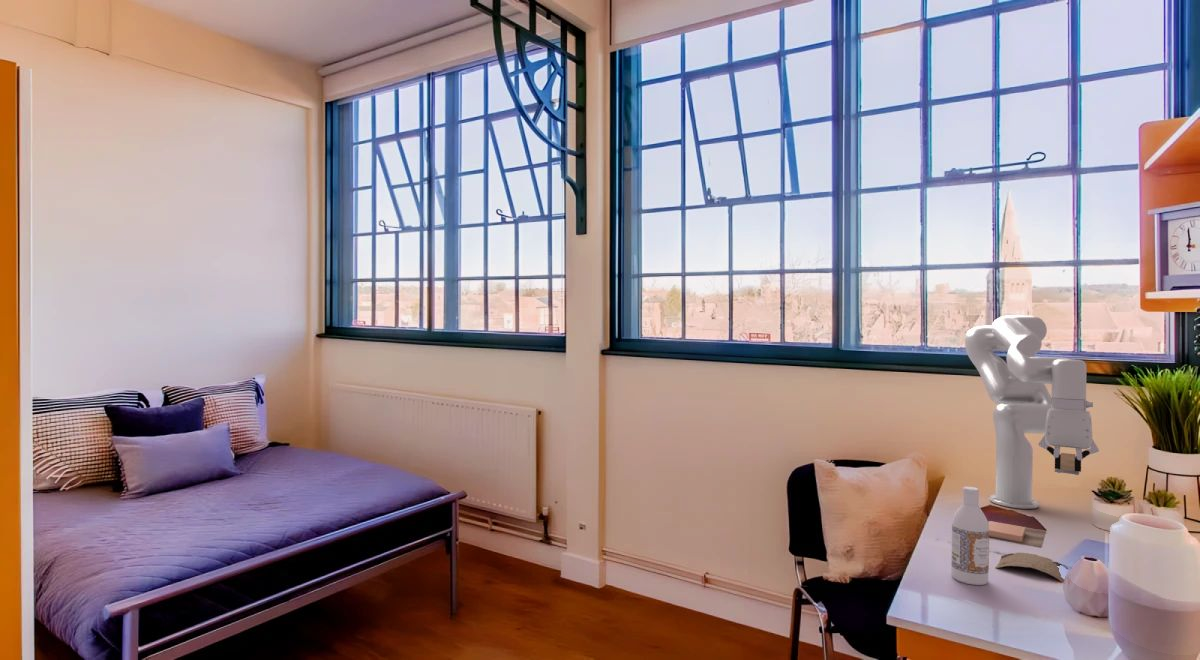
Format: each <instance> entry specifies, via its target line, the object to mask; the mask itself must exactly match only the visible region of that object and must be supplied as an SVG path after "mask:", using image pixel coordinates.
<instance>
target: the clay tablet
mask: <svg viewBox="0 0 1200 660" xmlns="http://www.w3.org/2000/svg"><path fill="white" fill-rule="evenodd" d="M1060 565H1062V564H1061V563H1059V562H1058V561H1054V560H1053V559H1051V558H1048V557H1045V556H1041V555H1038V554H1037V553H1029V552H1015V553H1009V554H1004V555H1002V556H1000V560H999V562H998V563H997V565H996V567H995V569H998V568H1003V567H1011V566H1012V567H1021V568H1022V567H1023V568H1032V569H1035V570H1038V571H1040V572H1043V573H1046V574H1048V575H1050V576H1052V577H1054V578H1055V579H1057V580H1058V581H1059V582H1061V583H1065V582H1064V579H1063V578H1062V577H1061V574H1060V572H1059V568H1058V567H1057V566H1060Z"/></svg>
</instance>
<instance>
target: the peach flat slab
mask: <svg viewBox="0 0 1200 660" xmlns="http://www.w3.org/2000/svg"><path fill="white" fill-rule="evenodd" d="M988 521H989V523H988V525H989V536H990V537H996V538H1001V539H1006V540H1011V541H1017V542H1022V541H1023V538H1024V535H1025V530H1026V526H1021V525H1016V524H1010V523H1009V524H1008V523H1004V522H996V521H993V520H988Z"/></svg>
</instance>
